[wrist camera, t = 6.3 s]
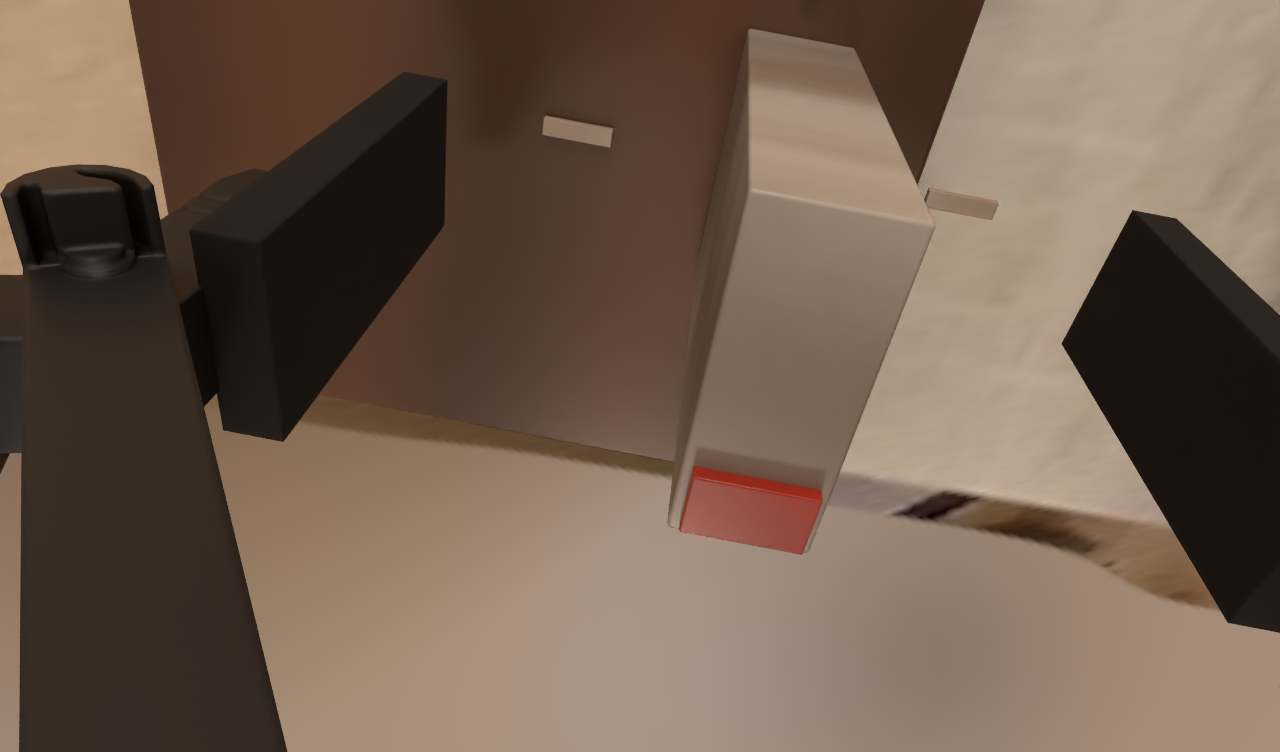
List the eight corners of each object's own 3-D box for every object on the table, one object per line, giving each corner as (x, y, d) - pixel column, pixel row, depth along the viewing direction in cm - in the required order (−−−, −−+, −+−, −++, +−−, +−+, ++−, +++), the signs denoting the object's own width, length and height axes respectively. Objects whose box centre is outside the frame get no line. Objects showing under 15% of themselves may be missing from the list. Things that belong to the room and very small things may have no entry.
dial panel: (1056, -60, 16) (1104, -40, 14) (858, 440, 23) (869, 504, 21) (168, -228, 16) (76, -234, 14) (245, 323, 23) (192, 376, 21)
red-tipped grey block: (748, 28, 15) (748, 197, 8) (855, 47, 15) (942, 234, 8) (696, 267, 18) (665, 540, 11) (786, 285, 18) (810, 567, 11)
